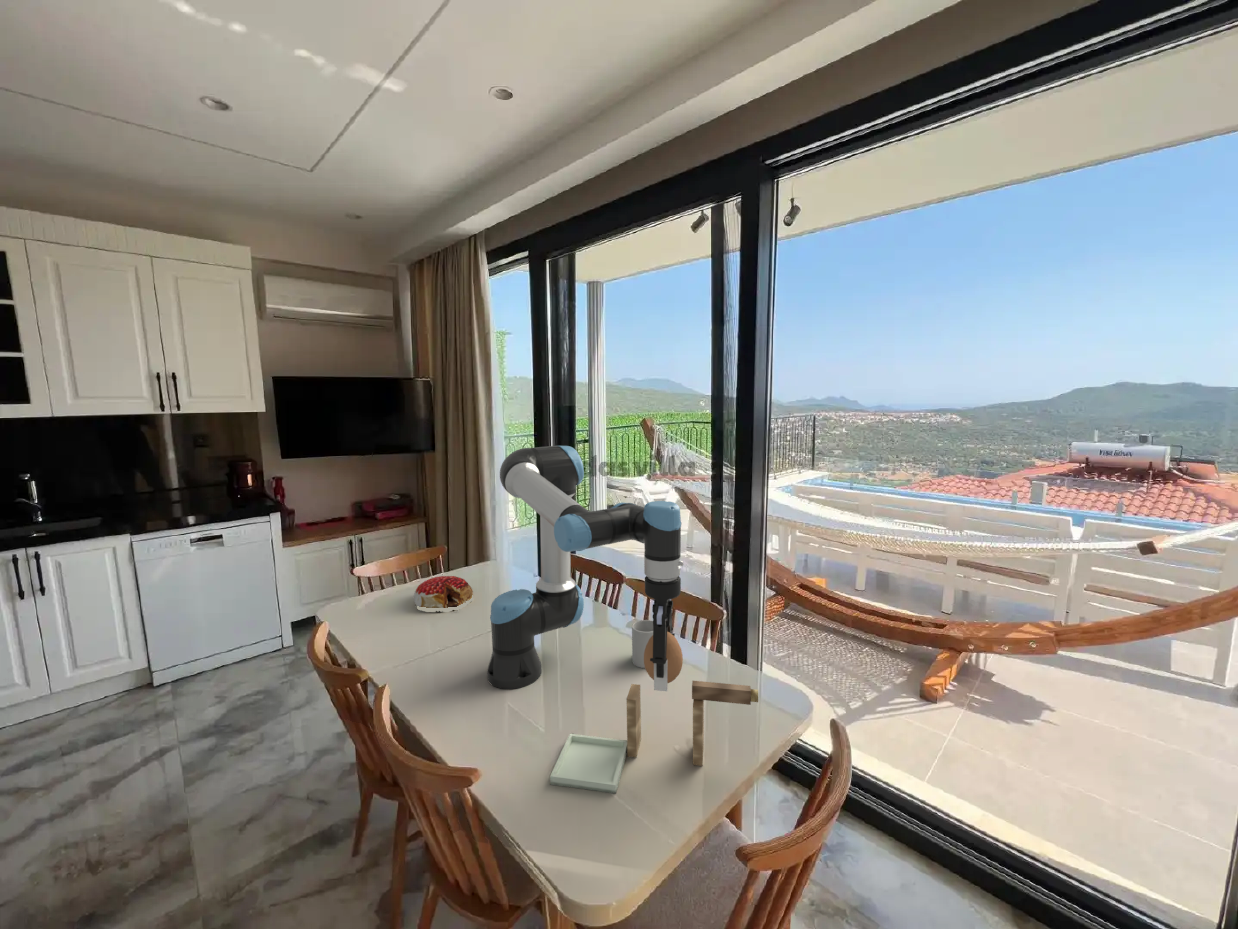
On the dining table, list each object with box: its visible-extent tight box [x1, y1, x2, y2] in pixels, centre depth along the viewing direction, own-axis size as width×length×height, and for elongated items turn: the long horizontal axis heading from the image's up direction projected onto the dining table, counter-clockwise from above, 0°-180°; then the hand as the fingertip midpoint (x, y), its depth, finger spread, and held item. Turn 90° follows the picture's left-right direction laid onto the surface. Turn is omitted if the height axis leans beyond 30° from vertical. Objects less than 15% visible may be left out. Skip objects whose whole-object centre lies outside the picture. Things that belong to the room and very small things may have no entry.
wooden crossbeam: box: [691, 680, 759, 706], centre depth 106 cm, size 14×2×3 cm, turn 78°
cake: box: [413, 575, 474, 608], centre depth 196 cm, size 23×24×10 cm
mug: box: [631, 619, 653, 669], centre depth 150 cm, size 12×8×11 cm
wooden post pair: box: [626, 683, 705, 767], centre depth 109 cm, size 16×6×13 cm, turn 78°
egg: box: [644, 632, 684, 684], centre depth 108 cm, size 8×8×11 cm
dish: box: [549, 733, 627, 794], centre depth 106 cm, size 13×13×2 cm
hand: (663, 678), depth 108 cm, fingers closed on egg, 8 cm apart
